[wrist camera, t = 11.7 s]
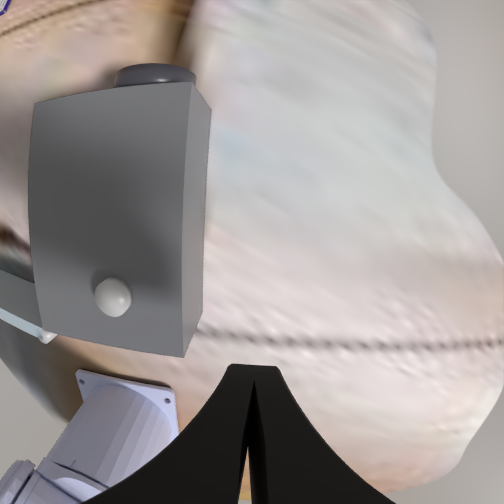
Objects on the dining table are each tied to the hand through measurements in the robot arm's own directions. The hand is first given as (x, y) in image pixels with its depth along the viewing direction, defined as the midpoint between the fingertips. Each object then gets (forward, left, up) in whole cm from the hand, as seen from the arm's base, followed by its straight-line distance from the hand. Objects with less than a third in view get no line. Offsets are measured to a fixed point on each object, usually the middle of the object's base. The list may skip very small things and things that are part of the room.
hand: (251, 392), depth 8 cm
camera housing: (+4, +7, -9) cm, 12 cm away
